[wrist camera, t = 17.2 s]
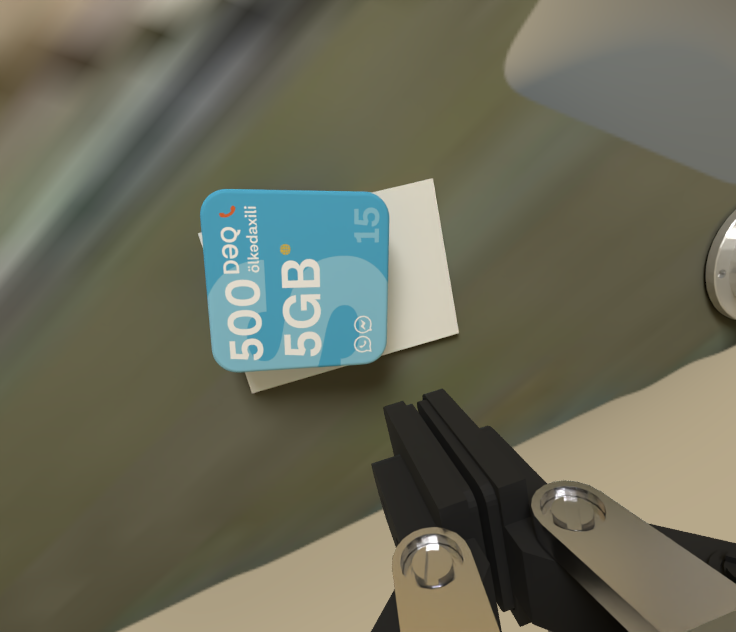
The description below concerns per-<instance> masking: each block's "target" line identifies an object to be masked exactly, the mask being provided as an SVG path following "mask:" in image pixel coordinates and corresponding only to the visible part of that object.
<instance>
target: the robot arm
mask: <svg viewBox="0 0 736 632" xmlns="http://www.w3.org/2000/svg"><path fill="white" fill-rule="evenodd" d="M705 278H706V287H707V291H708V294H709V297H710V300H711V301H712V303H713V305H714V307H715V308H716V309H717V310H718V311H719V312H720V313H721V314H723V315H725V316H726V317H728V318H731V319H734V320H736V210H735V211H734V212H733V213H732V214H731V215H730V216H729V217H728V218H727V220H726V221H725V222H724V224H723V225H722V226H721V228H720V229H719V231H718V233H717V235H716V237H715V239H714V240H713V243H712V246H711V248H710V251H709V254H708V259H707V264H706V276H705ZM417 407H418V411H417V410H416V408H415V407H414V406H413V404H410V405H406V404H405V403H404V402H403V401H401V402H398V403H395V404H391V405H388V406H385V407H383V409H384V415H385V419H386V423H387V427H388V431H389V436H390V440H391V444H392V448H393V452H394V457H391V458H388V459H385V460H382V461H379V462H375V463H372V470H373V474H374V478H375V482H376V485H377V489H378V493H379V496H380V500H381V503H382V507H383V510H384V513H385V516H386V520H387V523H388V525H389V528H390V531H391V534H392V537H393V540H394V543H395V546H396V550H395V553H394V555H393V558H392V572H393V579H394V587H395V589H394V591H393V593H392V595H391V597H390V598H389V600H388V602H387V604H386V606H385V607H384V609H383V611H382V613H381V615H380V616H379V618H378V620H377V622H376V624H375V625H374V627H373V629H372V631H371V632H502V631H501V625H500V620H499V614H498V608H497V604H498V606H499V607H500V609H501V610H502V611H503V612H505V611H508V610H511V612H512V614H513V615H514V617H515V619H516V621H517V622H518V624H519V626H520V627H521V626H524V625H526V624H528V623H531V622H532V624H534V625H537V626H539V627H542V628H544V629H547V630H548V632H736V543H732V542H728V541H723V540H719V539H714V538H710V537H706V536H701V535H697V534H692V533H688V532H683V531H679V530H675V529H670V528H665V527H661V526H656V525H652V524H648V523H646V522H645V521H643V520H642V519H640V518H639V517H637V516H636V515H635V514H633V513H631V512H630V511H629V510H627V509H626V508H624V507H623V506H621V505H620V504H618V503H617V502H615V501H614V500H613V499H611V498H610V497H608V496H607V495H605V494H604V493H603V492H601V491H599V490H597V489H595V488H594V487H592V486H590V485H586V484H583V483H580V482H574V481H557V482H552V483H549V484H547V483H546V482H545V481H544V480H543V479H542V478H541V477H540V476H539V475H538V474H537V473H536V472H535V471H534V470H533V469H532V468H531V467H530V466H529V465H528V464H527V463H526V462H525V461H524V460H523V459H522V458H521V457H520V456H519V454H517V452H516V451H515V450H514V449H513V448H512V447H511V446H510V445H509V444H508V443H507V442H506V441H505V440H504V439H503V438H502V437H501V436H500V435H499V434H498V433H497V432H496V431H495V430H494V429H493V428H492V427H490V426H485V427H482V428H479V427H478V426H477V425H476V424H475V423H474V422H473V421H472V420H471V419H470V418H469V417H468V415H467V414H466V413H465V412H464V411H463V410H462V409H461V408H460V407H459V406H458V405H457V403H456V402H455V401H454V400H453V399H452V398H451V397H450V396H449V395H448V394H447V393H446V391H445V390H443V389H440V390H437V391H433V392H430V393H427V394H424V395H423V400H422V401H419V402H417ZM418 412H419V413H418Z"/></svg>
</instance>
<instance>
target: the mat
mask: <svg viewBox="0 0 736 632" xmlns="http://www.w3.org/2000/svg"><path fill="white" fill-rule="evenodd" d="M373 194H375V195H377V196H379V197H380V198H381V199H382V200H383V201H384V202H385V204H386V206H387V208H388V211H389V263H388V309H387V344H386V348H385V350H384V352H383V354H382V355H385V354H389V353H392V352H396V351H399V350H403V349H406V348H409V347H413V346H416V345H420V344H423V343H427V342H430V341H433V340H437V339H440V338H444V337H447V336H451V335H454V334H457V333H459V331H458V325H457V319H456V313H455V307H454V301H453V295H452V290H451V284H450V278H449V272H448V266H447V260H446V254H445V248H444V242H443V236H442V230H441V224H440V218H439V212H438V206H437V200H436V194H435V188H434V183H433V179H428V180H424V181H420V182H415V183H411V184H407V185H403V186H398V187H394V188H390V189H385V190H381V191H377V192H373ZM198 235H199V238H200V241H201V244H202V247H203V242H202V233H198ZM382 355H381V356H382ZM346 366H348V365H346ZM341 367H344V366H331V367H316V368H300V369H285V370H270V371H254V372H245V374H246V377H247V380H248V383H249V386H250V389H251V391H252V393H255V392H259V391H262V390H265V389H269V388H272V387H276V386H279V385H283V384H286V383H289V382H293V381H296V380H300V379H303V378H307V377H310V376H313V375H317V374H320V373H324V372H327V371H331V370H334V369H337V368H341Z"/></svg>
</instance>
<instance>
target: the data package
mask: <svg viewBox="0 0 736 632" xmlns="http://www.w3.org/2000/svg"><path fill="white" fill-rule="evenodd" d="M200 219H201V230H202V242H203V253H204V264H205V276H206V287H207V299H208V310H209V321H210V333H211V344H212V353H213V356H214V359H215V360H216V362H217V363H218V364H219V365H220V366H221V367H222V368H224V369H226V370H228V371H231V372H254V371H270V370H285V369H300V368H316V367H331V366H346V365H362V364H369V363H372V362H374V361H375V360H377V359H378V358H379V357H380V356H381V355H382V354H383V352H384V350H385V348H386V344H387V309H388V263H389V211H388V208H387V206H386V204H385V202H384V201H383V200H382V199H381V198H380V197H379V196H377V195H375V194H373V193H370V192H351V191H300V190H250V189H222V190H218V191H215V192H213V193H212V194H210V195H209V196H208V197H207V198H206V199H205V201H204V202H203V204H202V207H201V212H200Z"/></svg>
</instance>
